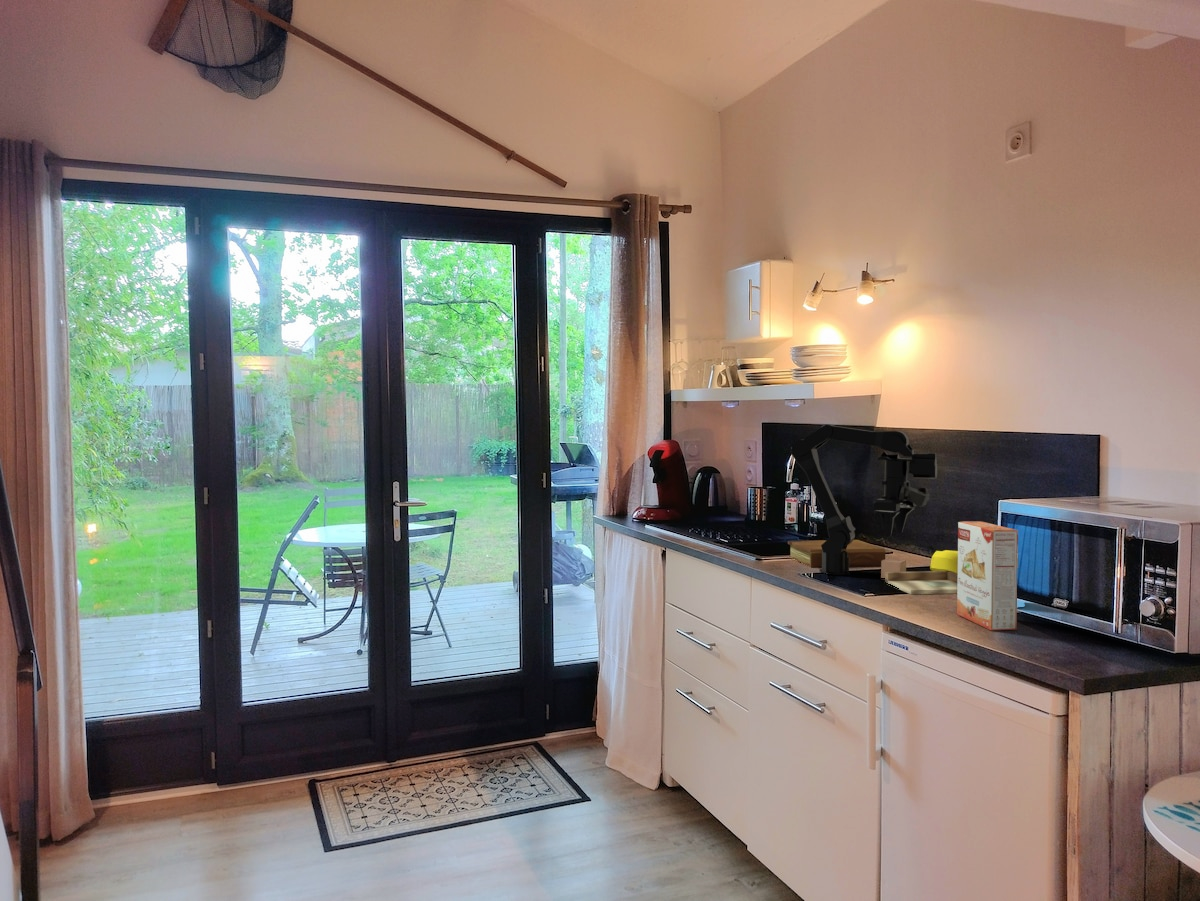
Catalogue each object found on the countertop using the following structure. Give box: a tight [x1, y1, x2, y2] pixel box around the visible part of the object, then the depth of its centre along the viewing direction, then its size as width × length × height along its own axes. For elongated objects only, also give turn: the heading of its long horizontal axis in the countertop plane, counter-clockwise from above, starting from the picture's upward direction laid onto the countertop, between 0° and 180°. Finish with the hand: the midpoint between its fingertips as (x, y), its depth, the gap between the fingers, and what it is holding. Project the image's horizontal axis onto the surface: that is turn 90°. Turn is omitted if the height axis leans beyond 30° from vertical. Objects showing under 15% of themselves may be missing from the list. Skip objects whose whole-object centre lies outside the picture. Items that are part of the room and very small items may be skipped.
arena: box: [884, 570, 958, 595], centre depth 217 cm, size 18×14×3 cm
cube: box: [880, 558, 907, 579], centre depth 230 cm, size 5×5×5 cm
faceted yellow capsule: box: [929, 549, 958, 573], centre depth 235 cm, size 18×7×8 cm
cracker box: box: [956, 520, 1019, 632], centre depth 179 cm, size 14×6×21 cm, turn 5°
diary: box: [787, 539, 887, 568], centre depth 257 cm, size 23×19×6 cm
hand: (894, 534), depth 230 cm, fingers open, 9 cm apart
